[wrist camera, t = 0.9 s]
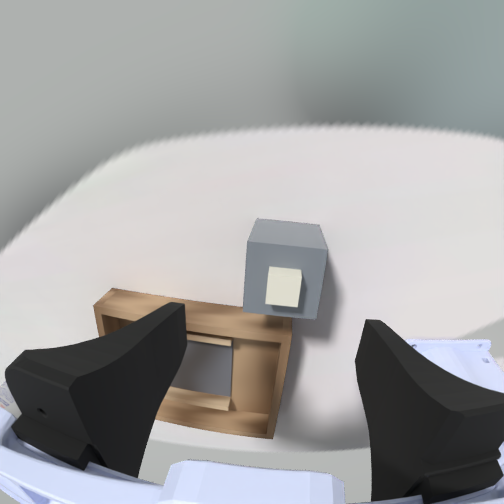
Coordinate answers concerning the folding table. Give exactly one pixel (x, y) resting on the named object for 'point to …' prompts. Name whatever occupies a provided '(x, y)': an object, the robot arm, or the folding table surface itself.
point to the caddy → (215, 363)
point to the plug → (284, 269)
